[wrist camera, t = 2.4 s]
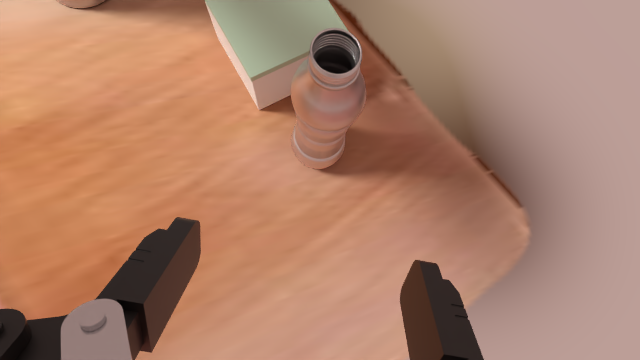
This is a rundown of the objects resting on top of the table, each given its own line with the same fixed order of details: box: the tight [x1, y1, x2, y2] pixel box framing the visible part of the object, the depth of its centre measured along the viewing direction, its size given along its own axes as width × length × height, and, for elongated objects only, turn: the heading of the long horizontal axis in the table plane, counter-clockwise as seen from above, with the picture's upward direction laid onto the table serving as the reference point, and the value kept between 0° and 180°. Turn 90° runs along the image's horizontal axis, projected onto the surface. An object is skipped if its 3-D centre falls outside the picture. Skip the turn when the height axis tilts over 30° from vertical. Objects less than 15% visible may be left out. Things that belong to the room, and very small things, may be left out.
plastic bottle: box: [290, 28, 366, 169], centre depth 31 cm, size 6×7×20 cm
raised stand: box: [205, 0, 349, 110], centre depth 40 cm, size 12×13×8 cm
